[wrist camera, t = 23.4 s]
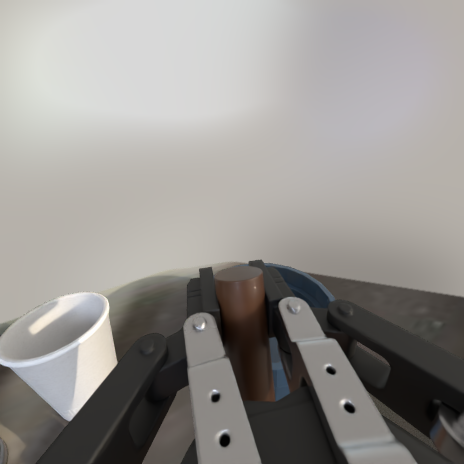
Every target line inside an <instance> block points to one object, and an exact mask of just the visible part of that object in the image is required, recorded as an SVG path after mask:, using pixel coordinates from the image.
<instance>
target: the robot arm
mask: <svg viewBox="0 0 464 464" xmlns="http://www.w3.org/2000/svg"><path fill="white" fill-rule="evenodd" d="M248 265H249V266H252V267H257V268H260V269H261V270H262V271H263V280H264V290H265V300H266V310H267V320H268V330H269V338H273V337H276V339H277V341H278V353H279V356H280V360H281V363H282V366H283V370H284V373H285V377H286V380H287V383H288V387H289V392H290V394H288V395H286V396H285V397H283V398H281V399H280V400H278V401H275V402H267V401H247V400H245V401H242V399H241V395H240V392H239V389H238V386H237V382H236V379H235V376H234V373H233V370H232V366H231V363H230V360H229V357H228V356H226V354H225V351H224V348H223V347H224V346H223V337H222V328H221V318H220V309H219V304H218V299H217V297H216V290H215V282H214V277H213V271H212V267H208V268H201V269H199V272H200V278H194V279H191V280H190V281H189V283H188V285H187V320H186V321H185V323H184V326H183V328H182V329H181V330H180V331H178V332H177V333H175V334H173V335H171V336H169V337H167V338H165V337H164V336H163V335H161V334H158V333H152V334H147V335H145V336H143V337H141V338H140V339H138V340H137V341H136V342H135V343H134V344H133V345H132V347H131V348H130V349H129V350H128V351H127V353H126V354H125V355H124V356H123V358H122V359H121V360H120V361H119V362H118V364H117V365H116V366H115V367H114V369H113V370H112V371H111V372H110V373H109V375H108V376H107V377H106V378H105V380H104V381H103V382H102V383H101V384H100V386H99V387H98V388H97V389H96V390H95V392H94V393H93V394H92V395H91V397H90V398H89V399H88V400H87V401H86V403H85V404H84V405H83V406H82V408H81V409H80V410H79V411H78V412H77V414H76V415H75V416H74V417H73V419H72V420H71V421H70V422H69V423H68V425H67V426H66V427H65V428H64V430H63V431H62V432H61V433H60V434H59V436H58V437H57V438H56V439H55V441H54V442H53V443H52V444H51V445H50V447H49V448H48V449H47V450H46V452H45V453H44V454H43V455H42V456H41V458H40V459H39V460H38V461H37V463H36V464H142V462H143V460H144V458H145V456H146V454H147V452H148V450H149V448H150V446H151V444H152V442H153V440H154V438H155V436H156V434H157V432H158V430H159V428H160V426H161V424H162V422H163V420H164V418H165V416H166V414H167V412H168V410H169V408H170V406H171V404H172V402H173V400H174V398H175V396H176V393H177V391H179V390H180V389H182V388H184V387H185V386H187V385H189V388H190V397H191V405H192V414H193V422H194V431H195V439H194V440H193V442H192V444H191V445H190V447H189V449H188V450H187V452H186V454H185V456H184V458H183V460H182V462H181V464H464V359H462V358H460V357H458V356H456V355H454V354H452V353H450V352H448V351H446V350H444V349H442V348H440V347H438V346H436V345H434V344H432V343H430V342H428V341H426V340H425V339H423V338H421V337H419V336H417V335H415V334H413V333H411V332H409V331H407V330H405V329H403V328H401V327H399V326H397V325H395V324H393V323H391V322H389V321H387V320H385V319H383V318H381V317H379V316H377V315H375V314H373V313H371V312H369V311H367V310H365V309H363V308H361V307H359V306H357V305H355V304H354V303H351V302H349V301H345V300H334V301H332V302H330V303H329V305H328V309H326V308H314V307H309V305H308V304H307V303H306V302H305V301H304V300H302V299H300V298H297V297H295V295H294V294H293V292H292V291H291V289H290V288H289V286H288V285H287V283H286V282H285V280H284V279H283V277H282V276H281V274H280V273H279V271H278V270H276V269H275V268H273V267H266V266H265V265H264V263H263V261H262V260H255V261H249V264H248ZM357 341H358V342H360V343H361V344H363V345H365V346H366V347H368V348H369V349H371V350H373V351H374V352H376V353H378V354H379V355H381V356H382V357H384V358H385V359H386V360H387V361H388V363H389V364H390V366H388V365H386V364H385V363H383V362H382V361H380V360H379V359H377V358H375V357H374V356H372V355H371V354H369V353H368V352H366V351H365V350H363V349H361V348H360V347H358V346H357ZM367 391H368V392H369V393H370V394H372V395H373V396H374V397H376V398H377V399H378V400H380V401H381V402H382V403H384V404H385V405H386V406H387V407H389V408H390V409H391V410H393V411H394V412H395V413H397V414H398V415H399V416H401V417H402V418H403V419H405V420H406V421H407V422H409V423H410V424H411V425H413V426H414V427H415V428H416V429H418V430H419V431H420V432H422V433H423V434H424V435H426V436H427V437H428V438H430V439H431V440H432V442H433V444H434V446H435V447H436V449H437V450H438V452H437V451H436V450H434V449H433V448H431V447H430V446H428V445H427V444H425V443H424V442H422V441H421V440H419V439H418V438H416V437H415V436H413V435H412V434H410V433H409V432H407V431H406V430H404V429H403V428H401V427H400V426H398V425H397V424H395V423H393V422H392V421H390V420H389V419H387V418H386V417H384V416H383V415H381V414H380V413H379V411H378V409H377V408H376V406H375V404H374V403H373V401H372V399H371V398H370V396H369V394H368V393H367ZM7 458H8V452H7V447H6V444H5V443H4V441H3V440H2V439H1V438H0V464H7Z"/></svg>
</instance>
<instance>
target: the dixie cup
mask: <svg viewBox="0 0 464 464" xmlns="http://www.w3.org/2000/svg"><path fill="white" fill-rule="evenodd" d="M108 312H109V302H108V300H107V299H106V297H104V296H103V295H101V294H99V293H94V292H77V293H72V294H68V295H64V296H61V297H58V298H55V299H52V300H50V301H48V302H45V303H43V304H41V305H39V306H37V307H35V308H34V309H32V310H31V311H29V312H27V313H26V314H24V315H23V316H21V317H20V318H19V319H17V320H16V321H15V322H14V323H13V324H12V325H10V326H9V327H8V328H7V330H6V331H5V332H4V333H3V334H2V336H1V337H0V364H2V365H4V366H7V367H10V368H11V369H12V370H13V371H14V372H15V373H16V374H17V375H18V376H19V377H20V378H21V379H22V380H23V381H25V382H26V383H27V384H28V385H29V386H30V387H31V388H32V389H33V390H34V391H35V392H36V393H37V394H38V395H39V396H41V397H42V398H43V399H44V400H45V401H46V402H47V403H48V404H49V405H50V406H51V407H52V408H53V409H54V410H55V411H57V412H58V413H59V414H60V415H61V416H62V417H63V418H64V419H65V420H68V421H71V420H72V419H73V417H74V416H75V415H76V414H77V412H78V411H79V410H80V409H81V408H82V406H83V405H84V404H85V403H86V401H87V400H88V399H89V398H90V397H91V395H92V394H93V393H94V392H95V390H96V389H97V388H98V387H99V386H100V384H101V383H102V382H103V381H104V380H105V378H106V377H107V376H108V375H109V373H110V372H111V371H112V370H113V369H114V367H115V366H116V365H117V359H116V353H115V348H114V342H113V337H112V331H111V326H110V320H109V314H108Z"/></svg>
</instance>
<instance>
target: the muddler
mask: <svg viewBox="0 0 464 464" xmlns="http://www.w3.org/2000/svg"><path fill="white" fill-rule="evenodd" d="M214 282H215V290H216V297H217V299H218V304H219V309H220V318H221V328H222V337H223V346H224V347H223V348H224V351H225V354H226V356H228V357H229V360H230V363H231V366H232V370H233V373H234V376H235V379H236V382H237V386H238V389H239V392H240V395H241V399H242V401H245V400H247V401H267V402H275V391H274V381H273V371H272V361H271V351H270V341H269V330H268V320H267V310H266V300H265V290H264V280H263V271H262V270H261V269H260V268H257V267H252V266H238V267H231V268H227V269H224V270H221V271H219V272H217V273H216V274H215V275H214Z"/></svg>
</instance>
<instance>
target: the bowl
mask: <svg viewBox="0 0 464 464" xmlns="http://www.w3.org/2000/svg"><path fill="white" fill-rule="evenodd" d="M264 265H265V266H266V267H273V268H275V269H276V270H278V271H279V273H280V274H281V276H282V277H283V279H284V280H285V282H286V283H287V285H288V286H289V288H290V289H291V291H292V292H293V294H294V295H295V297H297V298H300V299H302V300H304V301H305V302H306V303H307V304H308V305H309V307H314V308H326V309H328V305H329V303H330V302H332V301H334V300H335V299H334V297H333V295H332V294H331V293H330V292H329V291H328V290H327V289H326V288H325V286H324V285H323V284H322V283H320V282H319V281H317V280H316V279H314V278H313V277H311V276H310V275H308V274H306V273H304V272H302V271H299V270H296V269H294V268H291V267H288V266H283V265H277V264H272V263H264ZM238 266H249V265H248V264H244V265H237V266H234V267H238ZM213 277H214V276H213ZM269 341H270V351H271V361H272V371H273V381H274V391H275V401H278V400H280V399H281V398H283V397H285V396H286V395H288V394H290V392H289V387H288V383H287V380H286V377H285V373H284V370H283V366H282V363H281V360H280V356H279V353H278V341H277V339H276V337H273V338H269Z"/></svg>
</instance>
